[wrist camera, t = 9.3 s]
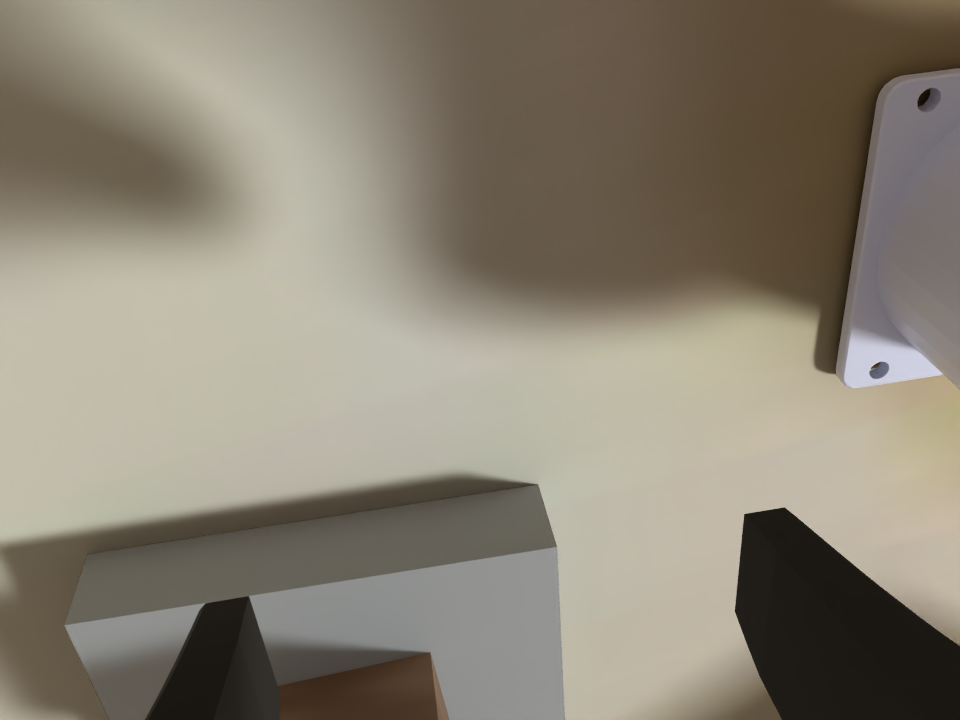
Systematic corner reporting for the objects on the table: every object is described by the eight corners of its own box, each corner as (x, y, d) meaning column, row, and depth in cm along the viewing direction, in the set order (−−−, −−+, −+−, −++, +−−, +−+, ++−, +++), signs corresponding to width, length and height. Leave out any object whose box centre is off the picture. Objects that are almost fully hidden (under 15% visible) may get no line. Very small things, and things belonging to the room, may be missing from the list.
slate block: (534, 471, 25) (556, 547, 22) (550, 738, 31) (569, 820, 29) (92, 539, 24) (64, 625, 21) (202, 799, 30) (190, 890, 28)
